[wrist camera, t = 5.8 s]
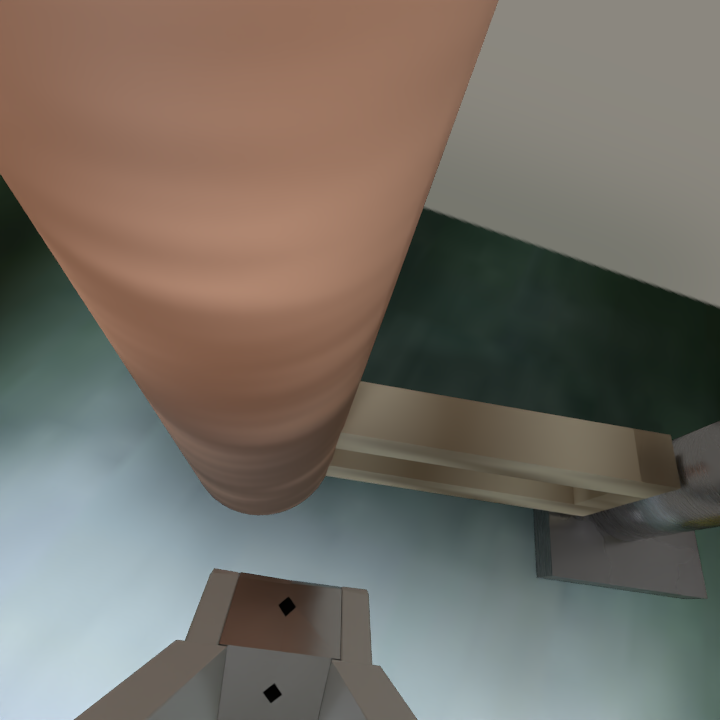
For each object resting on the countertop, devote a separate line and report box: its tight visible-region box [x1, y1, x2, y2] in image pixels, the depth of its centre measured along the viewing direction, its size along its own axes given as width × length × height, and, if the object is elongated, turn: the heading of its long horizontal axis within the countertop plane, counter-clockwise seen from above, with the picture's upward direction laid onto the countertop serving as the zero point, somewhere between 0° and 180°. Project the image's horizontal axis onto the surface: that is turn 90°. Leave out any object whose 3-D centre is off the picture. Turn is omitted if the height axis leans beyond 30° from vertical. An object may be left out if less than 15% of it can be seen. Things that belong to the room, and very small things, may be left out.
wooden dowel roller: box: [0, 0, 681, 516], centre depth 10 cm, size 15×5×17 cm, turn 83°
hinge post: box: [534, 421, 720, 599], centre depth 17 cm, size 6×6×7 cm
